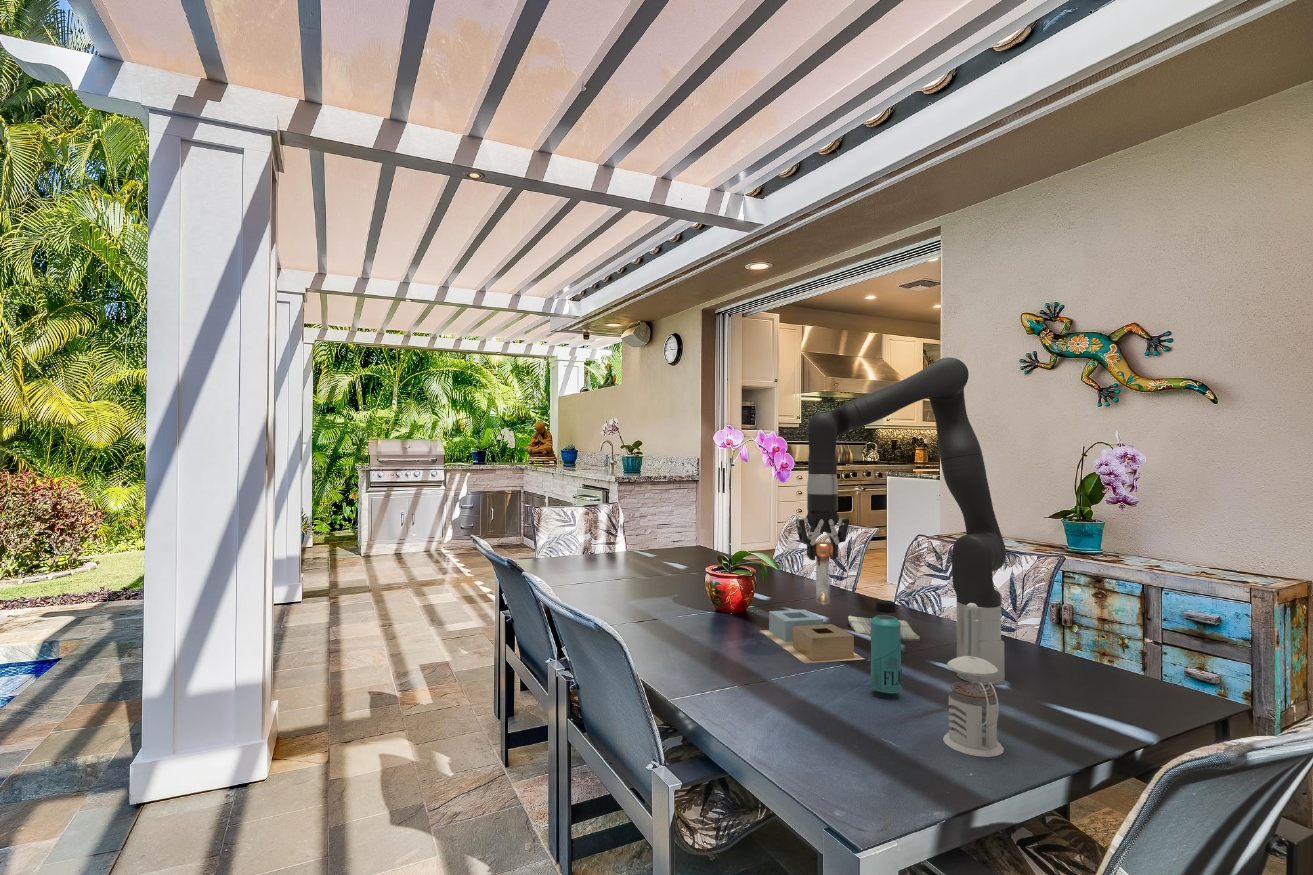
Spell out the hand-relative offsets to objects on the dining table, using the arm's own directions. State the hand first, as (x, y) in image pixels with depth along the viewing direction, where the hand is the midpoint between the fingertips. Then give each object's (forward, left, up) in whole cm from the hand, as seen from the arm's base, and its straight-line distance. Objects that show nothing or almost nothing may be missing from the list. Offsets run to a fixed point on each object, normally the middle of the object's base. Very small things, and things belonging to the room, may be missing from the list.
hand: (822, 559), depth 163 cm
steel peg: (0, 0, -11) cm, 11 cm away
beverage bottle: (-25, -2, -25) cm, 35 cm away
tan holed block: (0, 0, -24) cm, 24 cm away
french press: (-50, -4, -25) cm, 56 cm away
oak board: (+8, 0, -25) cm, 26 cm away
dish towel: (+20, -29, -26) cm, 44 cm away
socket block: (+16, 0, -24) cm, 28 cm away
